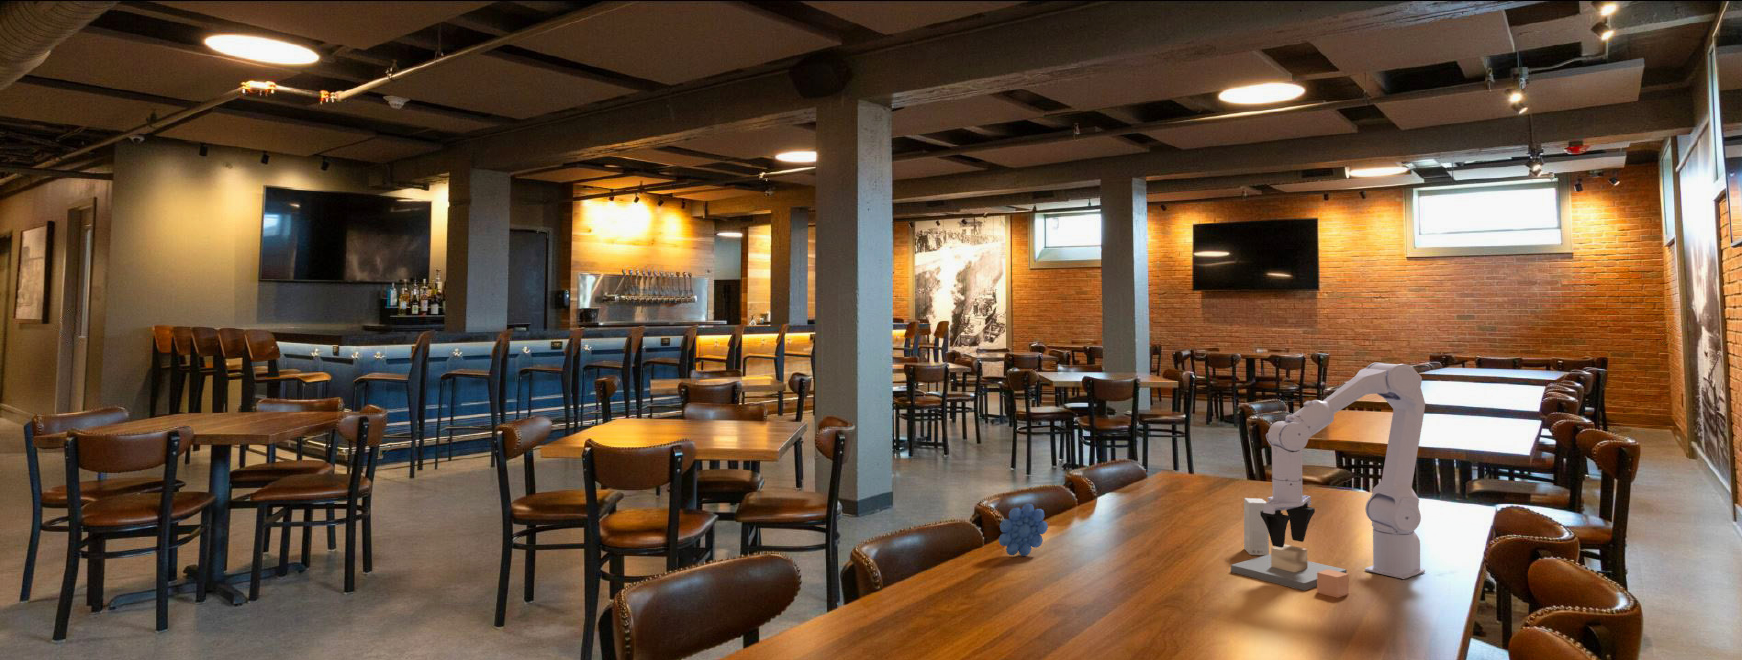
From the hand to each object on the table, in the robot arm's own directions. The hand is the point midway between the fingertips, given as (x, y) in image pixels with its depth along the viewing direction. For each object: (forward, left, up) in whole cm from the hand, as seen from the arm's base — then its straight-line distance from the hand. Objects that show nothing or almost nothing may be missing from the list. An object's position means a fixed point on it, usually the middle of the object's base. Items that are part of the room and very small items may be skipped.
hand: (1288, 543), depth 180 cm
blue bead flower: (+34, -44, -7) cm, 56 cm away
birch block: (0, 0, -5) cm, 5 cm away
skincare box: (-11, -14, -7) cm, 19 cm away
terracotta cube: (+5, +12, -7) cm, 15 cm away
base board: (0, 0, -7) cm, 7 cm away
